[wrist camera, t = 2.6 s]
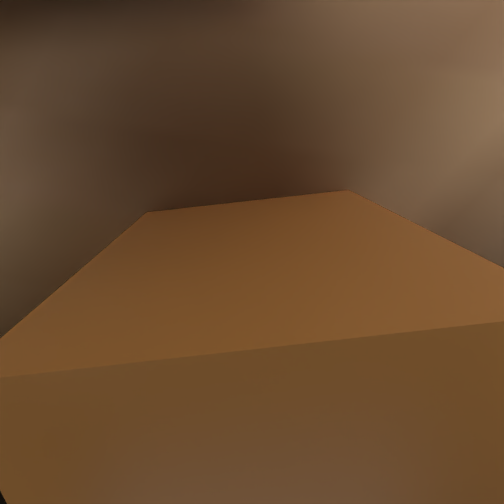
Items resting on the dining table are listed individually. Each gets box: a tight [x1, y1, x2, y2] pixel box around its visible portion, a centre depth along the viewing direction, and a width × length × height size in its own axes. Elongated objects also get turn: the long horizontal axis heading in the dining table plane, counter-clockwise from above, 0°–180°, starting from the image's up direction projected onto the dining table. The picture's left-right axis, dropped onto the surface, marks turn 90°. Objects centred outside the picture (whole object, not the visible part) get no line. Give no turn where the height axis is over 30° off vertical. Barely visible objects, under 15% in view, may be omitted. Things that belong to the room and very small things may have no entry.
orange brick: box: [0, 190, 504, 504], centre depth 6 cm, size 8×4×5 cm, turn 6°
